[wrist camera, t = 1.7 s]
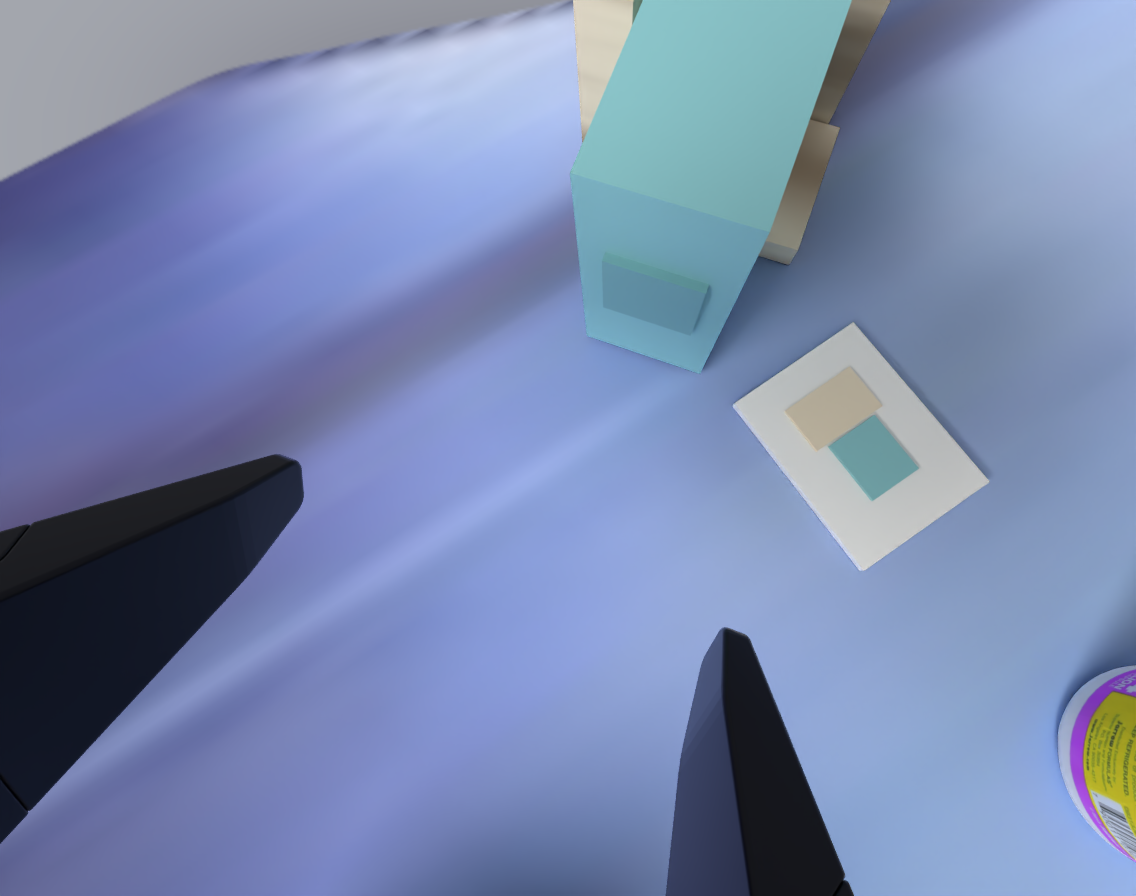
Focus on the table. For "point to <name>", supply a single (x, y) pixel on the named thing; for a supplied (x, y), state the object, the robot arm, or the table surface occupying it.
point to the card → (859, 446)
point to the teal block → (693, 164)
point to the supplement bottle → (1103, 755)
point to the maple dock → (601, 33)
